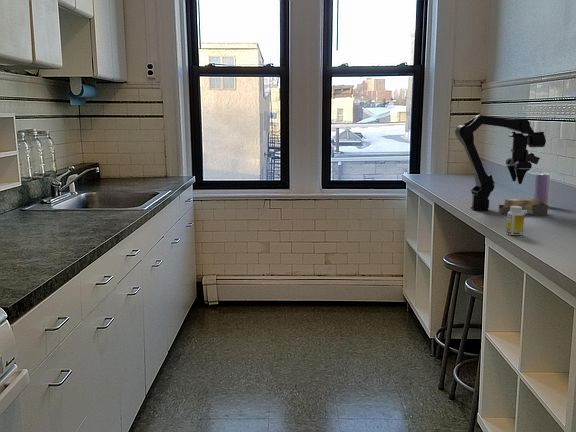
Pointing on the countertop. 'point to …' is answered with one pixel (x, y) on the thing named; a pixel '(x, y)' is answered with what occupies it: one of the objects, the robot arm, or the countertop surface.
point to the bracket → (539, 209)
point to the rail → (522, 203)
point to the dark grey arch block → (504, 209)
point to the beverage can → (542, 187)
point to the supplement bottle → (515, 221)
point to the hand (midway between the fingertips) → (517, 182)
